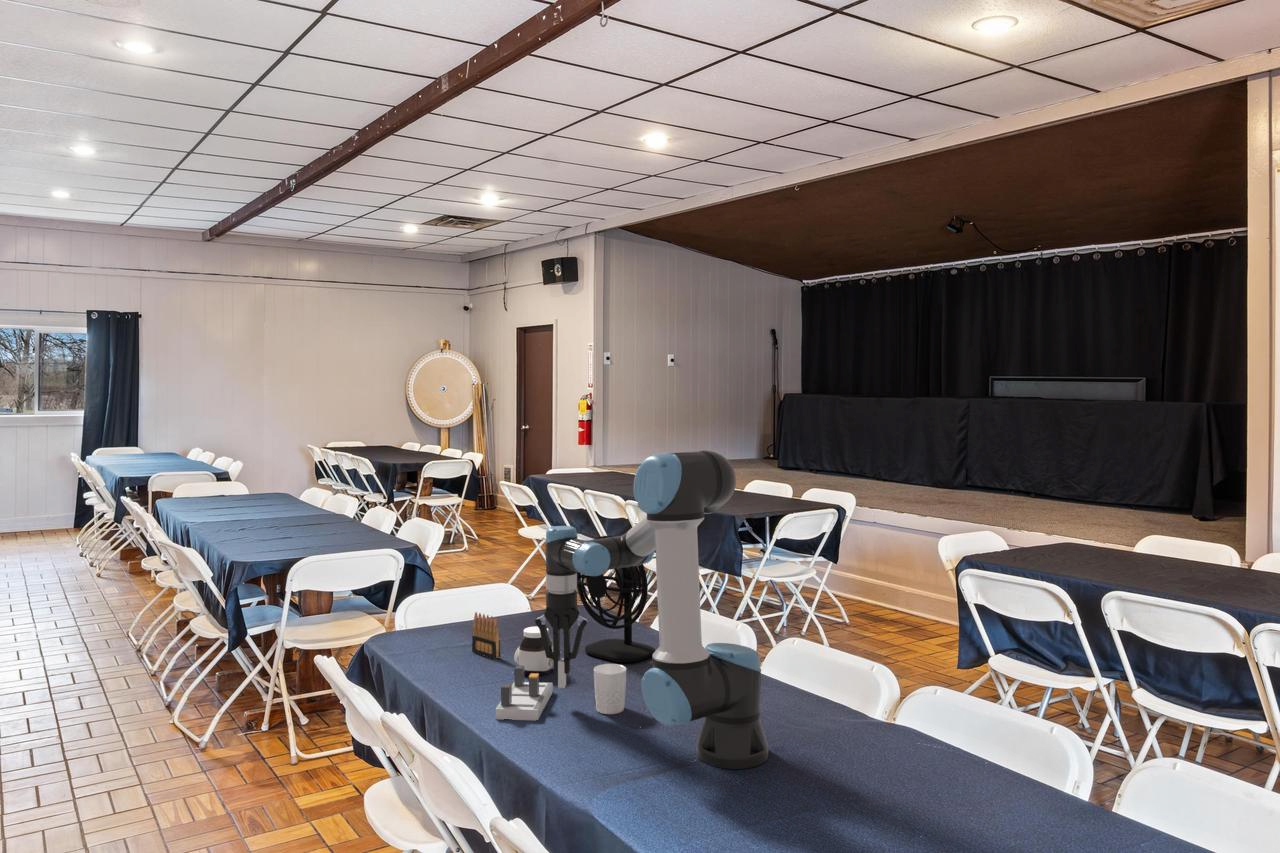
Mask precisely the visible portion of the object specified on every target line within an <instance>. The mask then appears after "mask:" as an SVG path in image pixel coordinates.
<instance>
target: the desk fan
mask: <svg viewBox="0 0 1280 853" xmlns="http://www.w3.org/2000/svg"><path fill="white" fill-rule="evenodd" d="M610 537H616V536H614V535H602V536H598V537H595V538H592V540H594V539H602V538H610ZM613 570H614V572H615V573H614V576H609V575H604V573H602V574H601V575H599V576H590V575H589V576H587V575H584V574H581V573H579V572H577V589H576V590H577V594H578V596H579V599H580V601H581V604H582V605H583V607H584V608H585V610H586V612H587V613H588V615H589V616H590V617H591V619H593V621H595V622H597V624H599V625H601V626H602V627H604V628H605V627H606V628H608V629H611V630H613V629H614V630H620V629H623V632H624V634H623V636H624V637H623V639H622V638H607V639H606V638H605V639H601V640H598V641H595V642H593V643H590V644H587V645H585V646H584V653H586V654H588V655H590V656H593V657H597V658H601V659H605V660H608V661H612V662H618V663H634V662H639V661H642V660H645V659H648V658H651V657H652V655H653V653H654V652H655V651H656V649H655V648H654V647H653V646H652V645H648V644H644V643H641V642H636V641H632V640H633V624H635V622H636V621H638V619H639V618H640V616H642V613H643V612H644V609H645V607H646V603H647V600H648V593H649V592H648V591H649V590H648V589H649V588H648V586H649V584H648V577H647V573H646V568H645V566H644V564H642V565H639V566H630V567H623V568H616V569H613ZM585 579H586V582H585ZM607 580H609V581H615V585H616V586H617V587H611V586H608V583H607ZM585 587H587V590H588V593H589V595H588V594H587V590H586V588H585ZM609 592H617V593H619V594H618V598H617V600H614V598H612V597H611V596H610V595H609ZM639 595H640V599H639V601H638V603H637V605H636V607H635V609H634V610H633V608H634V606H635V603H636V600H638V598H639ZM588 596H590V598H591V600H592V601H591V600H590V598H589V597H588ZM605 596H606V597H607V599H608V600H609V601H610V602H612V603H613V604H614V605H613V606H612V607H610V608H607V609H604V608H603V607H602V604H601V598H603V597H605ZM617 606H618V611H617V613H616V615H614V614H611V613H609V612H610V611H612V610H614V609H615V608H616V607H617ZM592 607H593V608H592ZM594 609H595V610H597V611H598V613H597V612H595V611H594ZM622 611H623V615H621V614H622ZM604 615H605V617H608V618H605V617H604ZM609 618H610V619H609ZM621 620H623V624H620V625H619V624H618V623H619V621H621ZM617 624H618V625H617Z"/></svg>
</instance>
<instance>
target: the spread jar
mask: <svg viewBox="0 0 1280 853" xmlns="http://www.w3.org/2000/svg"><path fill="white" fill-rule="evenodd" d="M547 631H548V635H549V632H550V630H549V628H548V627H547ZM549 639H550V643H551V647H552V651H553V639H552V638H551V636H550V635H549ZM513 659H514V662H515V663H516V664H517V665H519V666H524V675H526V674H527V676H530V674H531V673H538V674H539V675H540V676H543V675H544V674H545V675H547V674H549V672H550V671H551V670H552V667H553V665H554V661H553V659H551V658H547V657H546V654H545V650H544V646H543V642H542V638H541V634H540V630H539V628H538V626H537V625H536V626H529V627H526V628H524V629H523V638H522V639H521V641H520V644H519V646H518V647H517V649H516V650H515V653H514V656H513ZM545 675H544V676H545Z"/></svg>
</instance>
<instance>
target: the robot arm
mask: <svg viewBox="0 0 1280 853" xmlns="http://www.w3.org/2000/svg"><path fill="white" fill-rule="evenodd" d="M736 484H737V475H736V471H735V469H734V467H733V465H732V463H731V462H730V461H729V460H728V459H727V458H726V457H725V456H723V455H722V454H720V453H717V452H716V451H712V450H699V451H683V452H682V451H681V452H662V453H658V454H653V455H651V456H648V457H647V458H645V459H644V460H643V461H642V462H641V464H640V465H639V466H638V468H637V470H636V473H635V475H634V480H633V497H634V500H635V502H637V504H636V505H637V508H639V509H640V510H641V511H642V512H643V513H646V516H645V517H643V518H642V519H640V520H639V522H637V523H636V524H635V525H633V527H631V528H630V529H629V530H627V531H625V533H624V534H622V535H618V536H615V537H610V538H602V539H595V538H593V539H594V540H593V539H588V540H586V539H585V540H584V539H580V538H578V532H577V529H576V527H574V526H571V525H555V526H550V527H549V528H547V529H546V532H545V543H544V545H545V572H546V573H545V589H546V592H545V611H544V612H543V614H542V615H541V616H538V617H536V619H535V621H534V623H535V625H536V626H538V628H539V630H540V634H541V638H542V642H543V646H544V650H545V654H546V657H547V658H551V659H553V673H554V674H557V688H558V689H565V687H566V685H567V674H569V673H571V672H570V671H571V660H573V659H574V660H575V659H576V658H577V656H578V654H579V650H580V647H581V646H580V645H581V642H582V639H583V638H582V637H583V633H584V630H585V627H586V626H587V624H588V622H589V619H588V618H587V617H583V616H582V615H580V611H579V609H578V589H577V572H579V573H581V575H582V574H584V575H587V576H589V575H590V576H599V575H601V574H602V573H603V574H604V573H605V572H607V571H609V570H610V571H611V570H614V569H616V568H617V569H618V568H623V567H630V566H637V567H638V566H639V565H642V564H643V565H644V564H648V563H650V562H651V561H653V560H652V559H653V557H654V555H655V565H656V566H655V567H656V568H655V569H656V592H657V594H656V595H657V615H658V616H657V618H658V620H657V621H658V639H659V640H658V641H659V644H658V645H659V646H658V648H657V649H655V652H654V653H653V655H652V656H651V657H652V667H651V668H650V669H648V670H647V671H645V673H644V675H643V676H642V679H641V683H640V684H641V685H640V686H641V693H642V698H643V701H644V703H645V705H646V708H647V709H648V711H649V712H650V714H651V716H653V718H654V719H655V720H656V721H658V722H659V723H660V724H662V725H664V726H668V727H672V726H673V727H674V726H678V725H686V724H689V723H690V722H694V721H697V720H700V719H702V718H703V723H702V725H701V728H700V732H699V734H698V737H697V740H696V756H697V757H698V759H699V760H700V761H702V762H703V763H705V764H708V765H710V766H714V767H717V768H721V769H729V770H730V769H731V770H732V769H734V770H737V769H738V770H739V769H742V770H743V769H750V768H753V767H758V766H760V765H762V764H764V763H765V762H766V761H767V760H768V758H769V742H768V741H767V737H766V734H765V730H764V728H763V724H762V722H761V682H762V681H761V680H762V678H761V673H762V669H761V659H760V655H759V653H758V651H757V650H755V649H753V648H751V647H748V646H745V645H741V644H735V643H730V642H729V643H728V642H712V643H708V644H707V645H706V646H705V647H704V645H703V642H702V641H703V640H702V619H701V618H702V616H701V592H700V590H701V589H700V570H699V569H700V568H699V567H700V566H699V544H698V543H699V540H698V526H700V525H701V523H702V522H703V521H704V520H705V515H706V514H707V515H709V514H713V513H714V512H717V510H719V509H720V508H721V507H722V506H724V505H725V504H726V503H727V502H728V501H729V500H730V499H731V498H732V496H733V494H734V492H735V490H736V486H737V485H736ZM576 621H577V623H576V624H577V626H578V628H577V631H576V635H575V638H574V643H573V647H572V651H571V630H572V629H571V628H572V626H573V625H574V624H575V622H576ZM547 622H548V624H549V625H550V626H551V628H552V636H553V637H552V638H553V639H552V642H553V651H552V647H551V643H550V639H549V637H550V635H548V631H547V628H548V627H547V625H546V624H547ZM561 629H562V632H563V657H561Z"/></svg>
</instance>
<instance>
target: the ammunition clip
mask: <svg viewBox="0 0 1280 853" xmlns="http://www.w3.org/2000/svg"><path fill="white" fill-rule="evenodd" d="M498 625H499V624H498V620H497V616H495V617H494V618H493V615H491V616H490V615H489V614H487V615H485V614H484V613H483V614H482V613H481V612H479V613H478V612H477V611H475V613H474V618H473V635H472V638H471V639H472V641H471V652H474V653H473V654H475V653H476V655H479V654H481V655H480V656H482V655H485V656H488V657H491V658H495V659H496V658H499V657H500V658H501V640H499V639H500V638H499V637H500V636H499V632H500V631H499V626H498ZM485 656H484V657H485ZM488 657H487V658H488ZM491 658H490V659H491ZM500 658H499V659H500ZM495 659H494V660H495ZM496 660H497V659H496Z"/></svg>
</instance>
